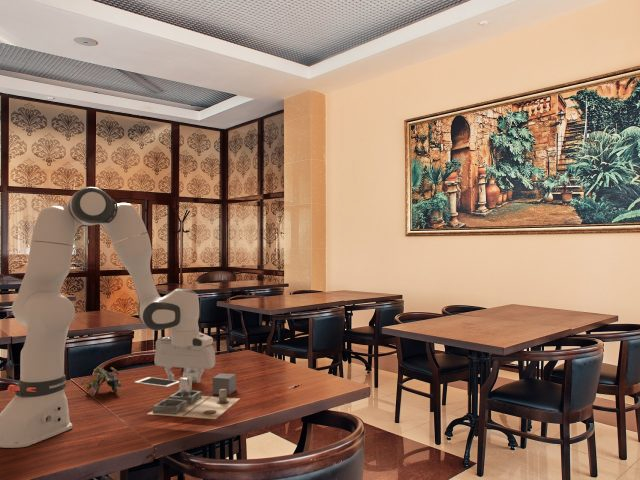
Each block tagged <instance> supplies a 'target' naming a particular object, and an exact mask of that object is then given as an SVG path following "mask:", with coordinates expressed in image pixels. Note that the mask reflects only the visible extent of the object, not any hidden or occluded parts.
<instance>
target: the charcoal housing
mask: <svg viewBox="0 0 640 480" xmlns="http://www.w3.org/2000/svg"><path fill="white" fill-rule="evenodd" d="M236 378H237V374H236V373H220V372H219V373H218V374H217V375H215V376H213V377H212V395H219V390H220V389H227V396H230V395H231V394H233V393H235V391H237V382H236V381H237V379H236Z"/></svg>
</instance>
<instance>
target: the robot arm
mask: <svg viewBox="0 0 640 480" xmlns="http://www.w3.org/2000/svg"><path fill="white" fill-rule="evenodd" d="M138 211H139V210H138V209H137V208H136V207H135V205H134V204H131V203H127V202H120V203H117V201H115V200H114V199H113V198H112V197H111V196H110V195H108V193H107V192H105V191H103V190H102V189H100V188H98V187H94V186H86V187H83V188H81V189H79V190H78V191H77V190H76V192H74V193H73V194H72V196H71V197H70V199H69V200H68V201H67V203H66V204H65V205H63V206H59V205H52V206H51V205H50V206H46V207H44V208H42V209H41V210H40V211H39V213H38V215H37V218H36V221H35V223H34V227H33V230H32V234H31V241H30V247H29V253H28V258H27V259H28V260H27V264H26V265H27V266H26V270H25V273H24V276H23V278H22V281H21V284H20V287H19V289H18V293H17V296H16V297H15V299H14V300H13V302H12V304H11V312H12V315H13V317H14V318H15V319H16V320H17V322H18V323H19V324H21V325H22V326H24V327H27V328H26V337H25V340H24V343H23V347H22V349H21V351H20V364H19V365H20V371H19V372H20V375H19V377H20V379H19V380H18V382H17V384H10V385H8V387H7V392H8V393H14V394H15V395H14V397H13V398H12V399H11V400H9V401H10V402H8V403H7V404H6V406H5V407H4V409H3V410H1V412H0V448H6V449H7V448H8V449H9V448H11V449H14V448H24V447H29V446H31V445H33V444H37V443H39V442H42V441H43V440H47V439H49V438H51V437H54V436H57V435H59V434H61V433H64V432H67V431H69V430H71V429H73V423H72V422H71V420H70V419H71V418H70V411H69V404H68V403H69V402H68V397H67V396H66V393H65V389H66V386H67V383H66V382H67V379H66V374H65V348H66V341H67V337H68V333H69V329H70V326H71V324H72V323H73V322H74V319H75V316H76V308H75V305H74V303H73V302H72V301H71V300H70V299H69V298H68V297H67V296H66V295H63V294H62V293H60V292H61V290H62V287H63V285H64V282H65V280H66V278H67V276H68V275H69V274H70V270H71V264H72V258H73V252H74V243H75V236H76V232H77V230H78V228H85V227H91V226H95V225H100V226H102V227H103V228H104V229H105V230H106V232H107V233H108V235H109V239H110V242H111V244H112V247H113V250H114V252H115V253H116V256H117V257H118V260H119V262H121V263H122V265H123V266H124V268H125V270H126V271H127V272H128V273H129V275H130V277H131V280H132V283H133V286H134V289H135V291H136V294H137V298H138V310H137V314H138V315H137V316H138V318H139V320H140V322H141V323H142V324H143V325H145V326H146V327H147V329H150V330H153V331H162V330H167V329H171V330H170V337H163V336H161V337H159V338H158V339H156V341H155V352H154V365H155V366H156V367H164V372H165V373H166V375H167V379H168V380H175V373H173V372H172V370H171V369H172V368H180V369H182V368H196V369H198V372H199V374H198V375H197V376H195V377H194V379H195V380H194V382H199V383H200V382H201V380H202V375H203V374H204V372H205V370H211V369H212V368H214V367H215V365H216V352H215V348H214V346H213V343H214V338H213V337H212V336H209V335H208V334H205V333H202V332H200V327H199V319H200V300H199V295H198V294H197V292H195V291H194V290H191V289H186V288H175V289H174V290H172V291H171V292H169V293H167V294H166V295H164V296H161V295H160V293H159V292H158V290H157V287H156V283H155V280H154V277H153V274H152V272H151V259H152V255H153V249H152V244H151V239H150V235H149V233H148V230H147V227H146V225H145V223H144V221H143V218H142V217H141V214H140V213H139V212H138Z"/></svg>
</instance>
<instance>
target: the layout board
mask: <svg viewBox="0 0 640 480" xmlns="http://www.w3.org/2000/svg"><path fill="white" fill-rule="evenodd" d="M240 399H241V398H239V397H238V398H237V397H228V395H227V389H220V390H219V394H218V396H205V395H202V390H192V396H191V397H181V396H179V390H177V391H176V392H175V393H173V394H171V395H169V396H168V398H164V399H163V400H160V401H159V402H157V403H156V404H154V405H153V406H152V410H151V411H150V412H148V413H147V415H153V416H155V415H156V416H169V417H180V418H181V417H182V418H183V417H184V418H197V419H208V420H209V419H210V420H217V419H218V418H220V417H221V415H222V414H224V413H225V412H226V411H227V410H228V409H230V408H231V407H232V406H233V405H235V404H236V403H238V401H239V400H240Z"/></svg>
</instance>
